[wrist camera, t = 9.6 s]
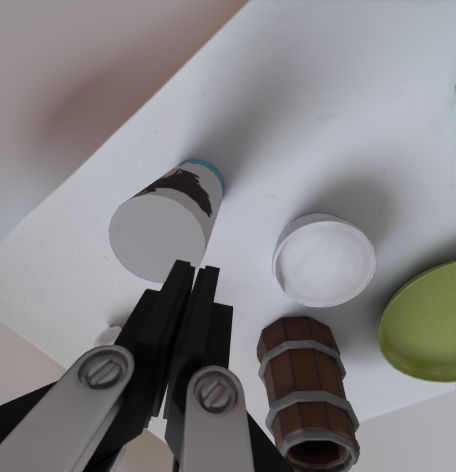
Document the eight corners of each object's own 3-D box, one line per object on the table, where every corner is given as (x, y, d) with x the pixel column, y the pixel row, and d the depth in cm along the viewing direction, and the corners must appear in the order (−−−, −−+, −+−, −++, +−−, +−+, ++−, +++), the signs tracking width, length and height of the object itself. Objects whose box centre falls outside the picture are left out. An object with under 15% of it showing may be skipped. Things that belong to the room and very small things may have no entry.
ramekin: (266, 208, 32) (270, 225, 27) (362, 200, 31) (383, 215, 26) (271, 285, 37) (274, 310, 32) (355, 280, 35) (371, 306, 31)
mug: (242, 342, 41) (239, 453, 28) (304, 301, 37) (336, 408, 24) (303, 394, 45) (327, 513, 32) (366, 362, 41) (424, 483, 28)
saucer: (462, 212, 31) (485, 223, 28) (571, 298, 34) (601, 315, 31) (337, 323, 39) (345, 340, 36) (436, 383, 42) (450, 403, 39)
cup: (184, 147, 30) (130, 174, 16) (234, 179, 31) (223, 229, 17) (159, 196, 32) (95, 254, 19) (207, 224, 34) (178, 297, 20)
